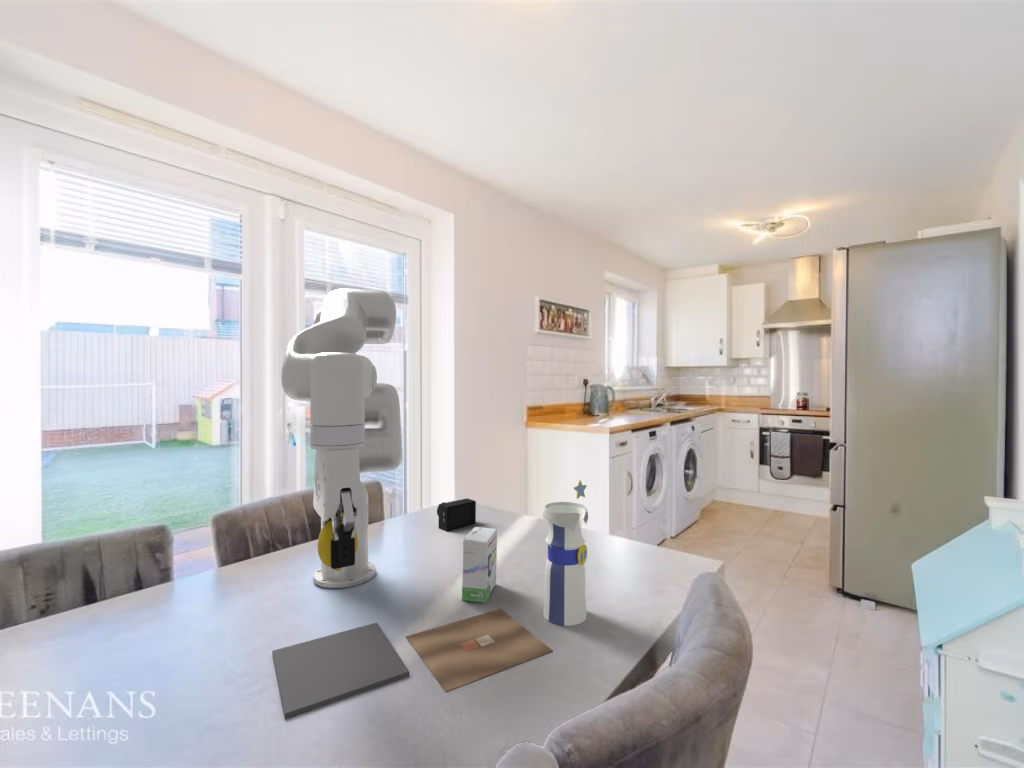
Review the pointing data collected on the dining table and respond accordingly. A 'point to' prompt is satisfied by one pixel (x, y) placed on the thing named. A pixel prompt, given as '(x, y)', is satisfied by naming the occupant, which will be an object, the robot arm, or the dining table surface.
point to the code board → (475, 648)
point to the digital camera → (456, 514)
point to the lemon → (329, 543)
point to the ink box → (479, 564)
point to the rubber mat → (335, 668)
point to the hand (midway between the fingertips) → (338, 558)
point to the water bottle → (565, 562)
